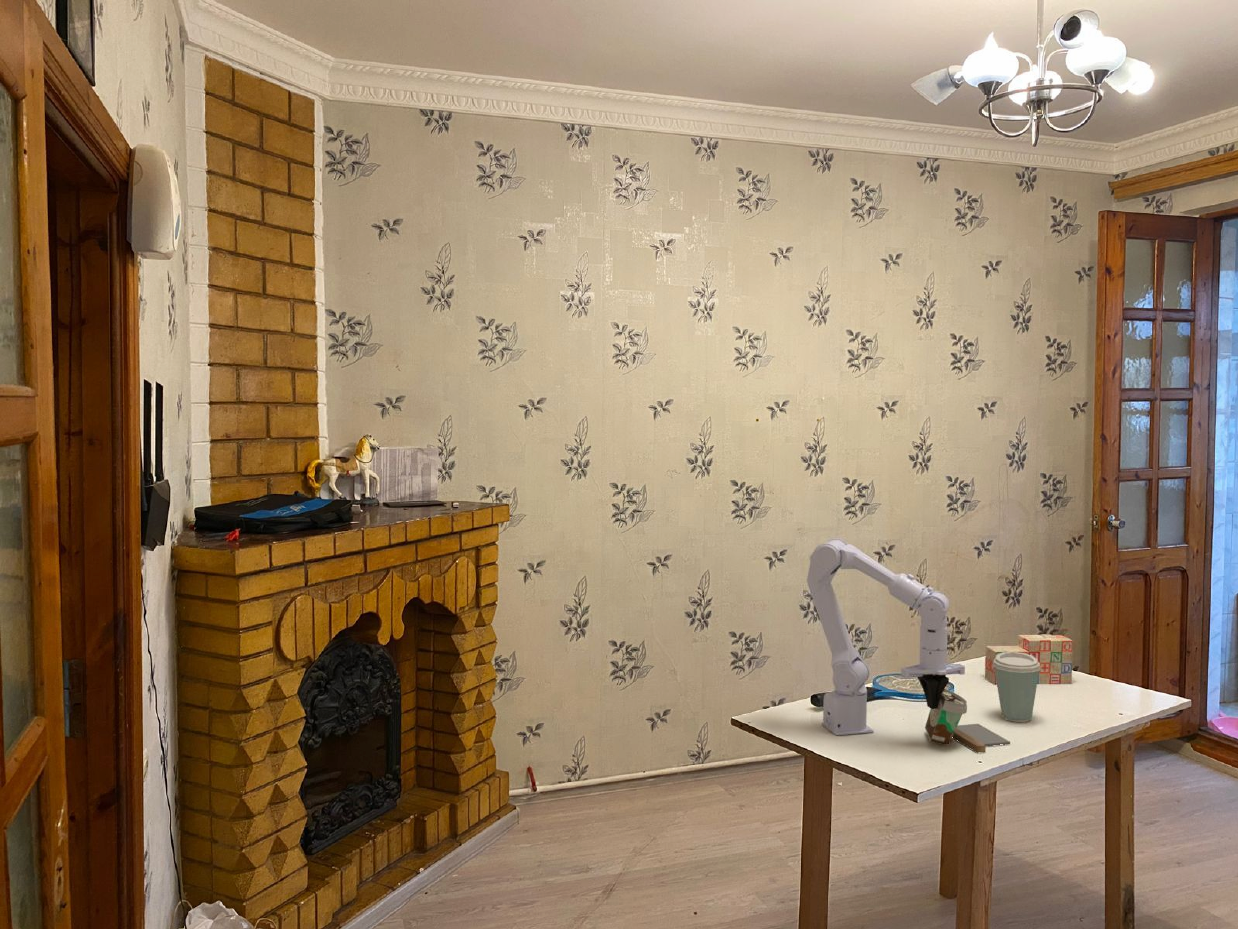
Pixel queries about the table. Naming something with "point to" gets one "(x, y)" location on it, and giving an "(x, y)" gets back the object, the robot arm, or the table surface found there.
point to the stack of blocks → (1039, 657)
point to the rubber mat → (982, 734)
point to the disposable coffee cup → (1016, 684)
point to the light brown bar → (969, 741)
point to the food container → (945, 717)
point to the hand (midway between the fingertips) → (932, 707)
